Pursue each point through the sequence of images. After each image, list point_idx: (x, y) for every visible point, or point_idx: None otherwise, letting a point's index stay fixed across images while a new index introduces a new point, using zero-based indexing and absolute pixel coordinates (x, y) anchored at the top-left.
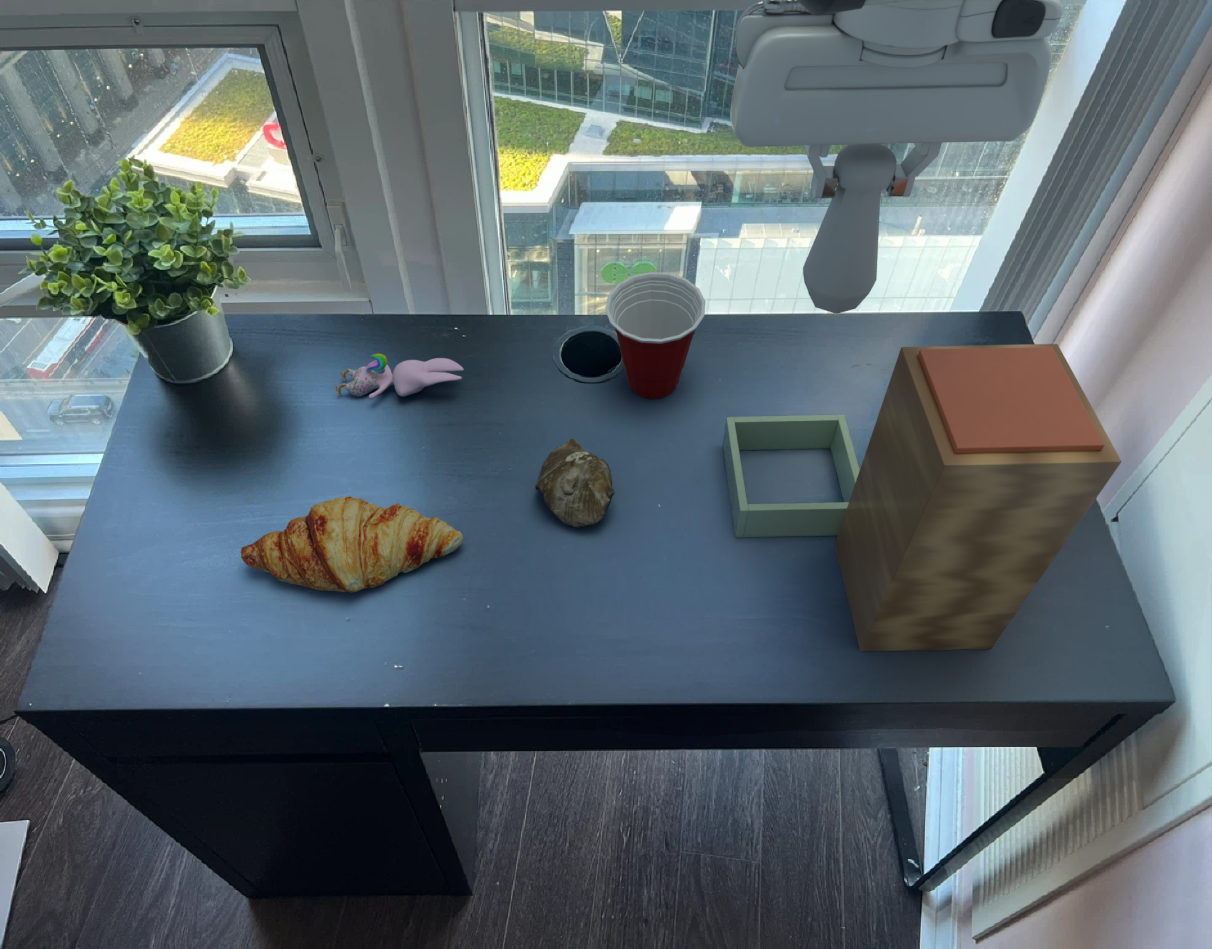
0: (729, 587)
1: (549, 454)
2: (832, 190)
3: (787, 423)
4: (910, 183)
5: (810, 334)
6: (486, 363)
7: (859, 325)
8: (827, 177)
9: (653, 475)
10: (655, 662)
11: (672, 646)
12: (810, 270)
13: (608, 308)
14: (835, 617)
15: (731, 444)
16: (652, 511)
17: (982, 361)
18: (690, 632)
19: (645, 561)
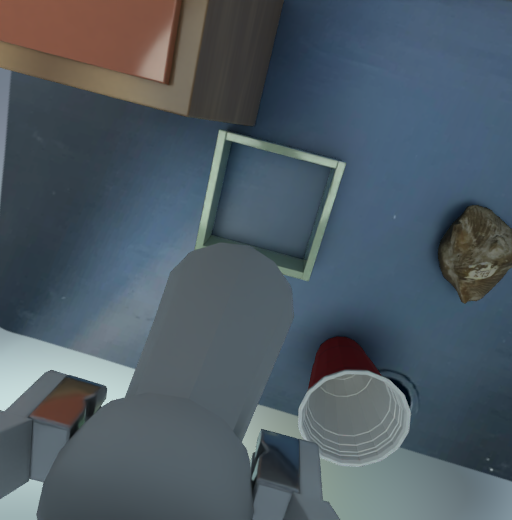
0: (371, 105)
1: (482, 297)
2: (271, 448)
3: None
4: (31, 396)
5: None
6: (481, 422)
7: (127, 362)
8: (289, 496)
9: (385, 252)
10: (477, 39)
11: (453, 53)
12: (288, 318)
13: (405, 432)
14: (289, 43)
15: (318, 246)
16: (403, 212)
17: (63, 13)
18: (429, 64)
19: (435, 157)
